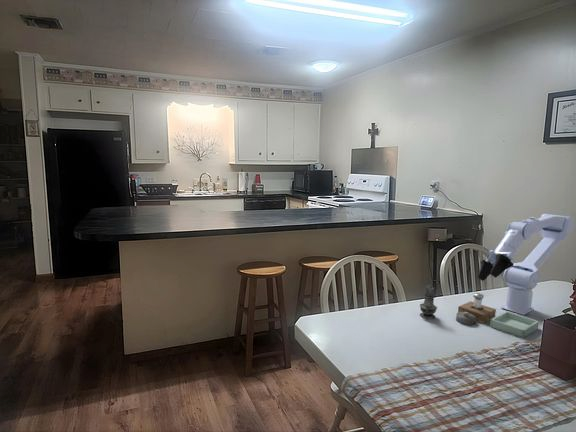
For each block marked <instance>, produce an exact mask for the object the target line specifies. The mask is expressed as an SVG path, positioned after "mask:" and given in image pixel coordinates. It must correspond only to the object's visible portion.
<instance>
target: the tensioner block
mask: <svg viewBox="0 0 576 432" xmlns="http://www.w3.org/2000/svg"><path fill="white" fill-rule="evenodd" d="M473 307H474V301H471V300H470V301H467V302H466V303H464V304H462V305H459V306H458V308H457V313H456V316H455V321H457V322H458V323H459V324H462V325H467V326H473V325H475V324H476V322H479V323H482V324H485V323H487V322H490V320H491V319H492V318H494V317H496V313H497V308H494V307H489V306H486V305H484V304H481V310H480V311H479V310H476V309H473Z"/></svg>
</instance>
